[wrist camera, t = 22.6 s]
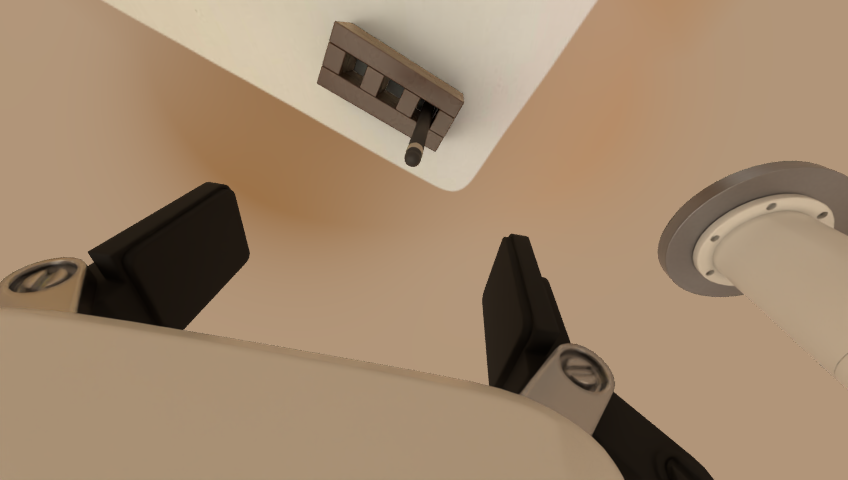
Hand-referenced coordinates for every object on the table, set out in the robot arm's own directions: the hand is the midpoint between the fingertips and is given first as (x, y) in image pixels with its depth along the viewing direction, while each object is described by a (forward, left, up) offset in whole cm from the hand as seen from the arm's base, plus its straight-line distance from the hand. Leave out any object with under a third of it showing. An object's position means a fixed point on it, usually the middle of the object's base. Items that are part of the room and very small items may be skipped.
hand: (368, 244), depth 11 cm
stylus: (0, 0, -25) cm, 25 cm away
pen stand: (+3, -1, -25) cm, 26 cm away
